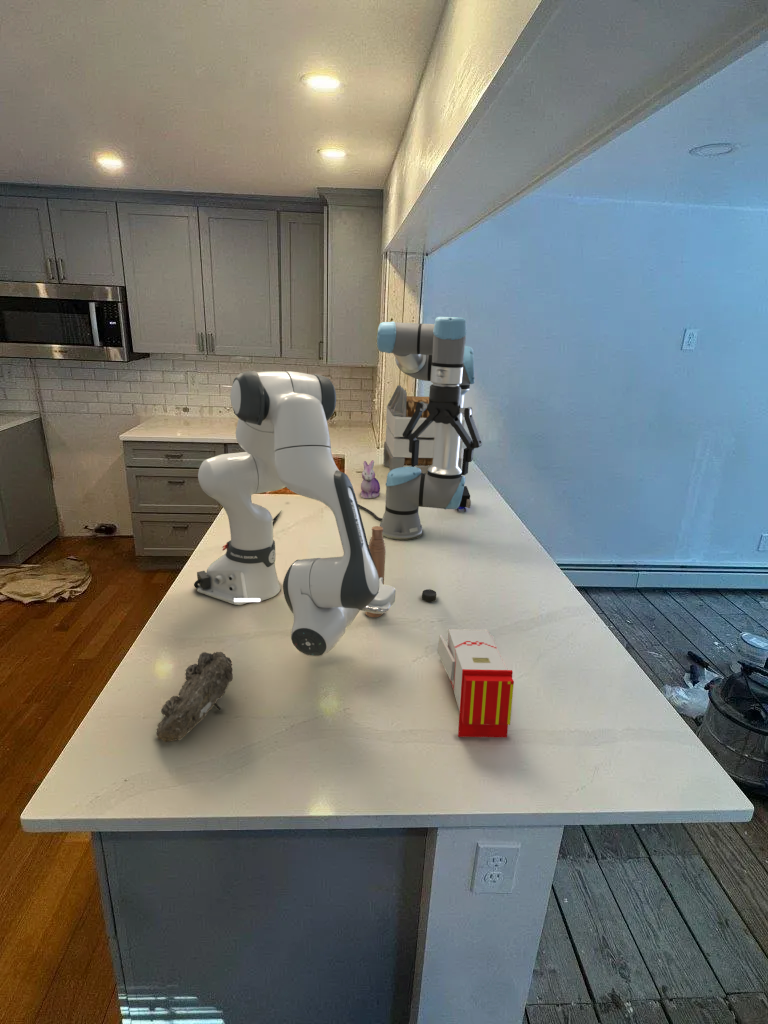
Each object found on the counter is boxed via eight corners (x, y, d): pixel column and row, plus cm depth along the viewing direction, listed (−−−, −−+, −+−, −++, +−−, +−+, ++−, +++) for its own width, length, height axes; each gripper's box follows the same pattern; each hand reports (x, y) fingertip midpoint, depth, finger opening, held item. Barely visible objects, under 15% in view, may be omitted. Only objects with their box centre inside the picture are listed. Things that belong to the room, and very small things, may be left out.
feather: (288, 505, 226) (290, 501, 226) (271, 529, 199) (273, 524, 199) (284, 503, 226) (287, 499, 225) (266, 526, 199) (269, 522, 199)
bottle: (384, 616, 146) (388, 530, 138) (367, 618, 145) (371, 531, 137) (380, 608, 150) (383, 524, 142) (363, 609, 149) (366, 525, 141)
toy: (488, 613, 130) (523, 677, 101) (484, 667, 133) (517, 744, 104) (435, 612, 130) (455, 676, 101) (432, 666, 133) (451, 743, 103)
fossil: (183, 653, 120) (233, 621, 115) (215, 683, 122) (265, 653, 117) (132, 735, 100) (190, 701, 95) (171, 768, 103) (229, 737, 98)
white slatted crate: (382, 463, 289) (386, 382, 275) (445, 464, 293) (451, 384, 279) (390, 482, 257) (394, 392, 243) (460, 483, 261) (468, 394, 247)
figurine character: (470, 516, 223) (465, 500, 237) (473, 499, 220) (467, 484, 233) (453, 516, 223) (449, 500, 236) (455, 498, 220) (451, 483, 233)
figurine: (365, 500, 232) (366, 464, 227) (354, 493, 241) (355, 458, 236) (385, 497, 237) (387, 463, 231) (374, 490, 245) (375, 457, 240)
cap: (429, 594, 159) (430, 587, 158) (439, 600, 156) (439, 593, 155) (418, 597, 156) (419, 591, 156) (427, 603, 153) (428, 597, 153)
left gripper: (386, 600, 116) (404, 572, 129) (295, 581, 121) (321, 556, 134) (385, 626, 118) (402, 596, 131) (295, 607, 124) (320, 580, 136)
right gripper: (392, 381, 138) (388, 465, 145) (491, 391, 128) (482, 481, 135) (405, 378, 145) (400, 459, 152) (500, 388, 134) (491, 474, 142)
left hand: (360, 576), depth 132 cm, fingers open, 8 cm apart
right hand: (439, 469), depth 144 cm, fingers open, 13 cm apart
